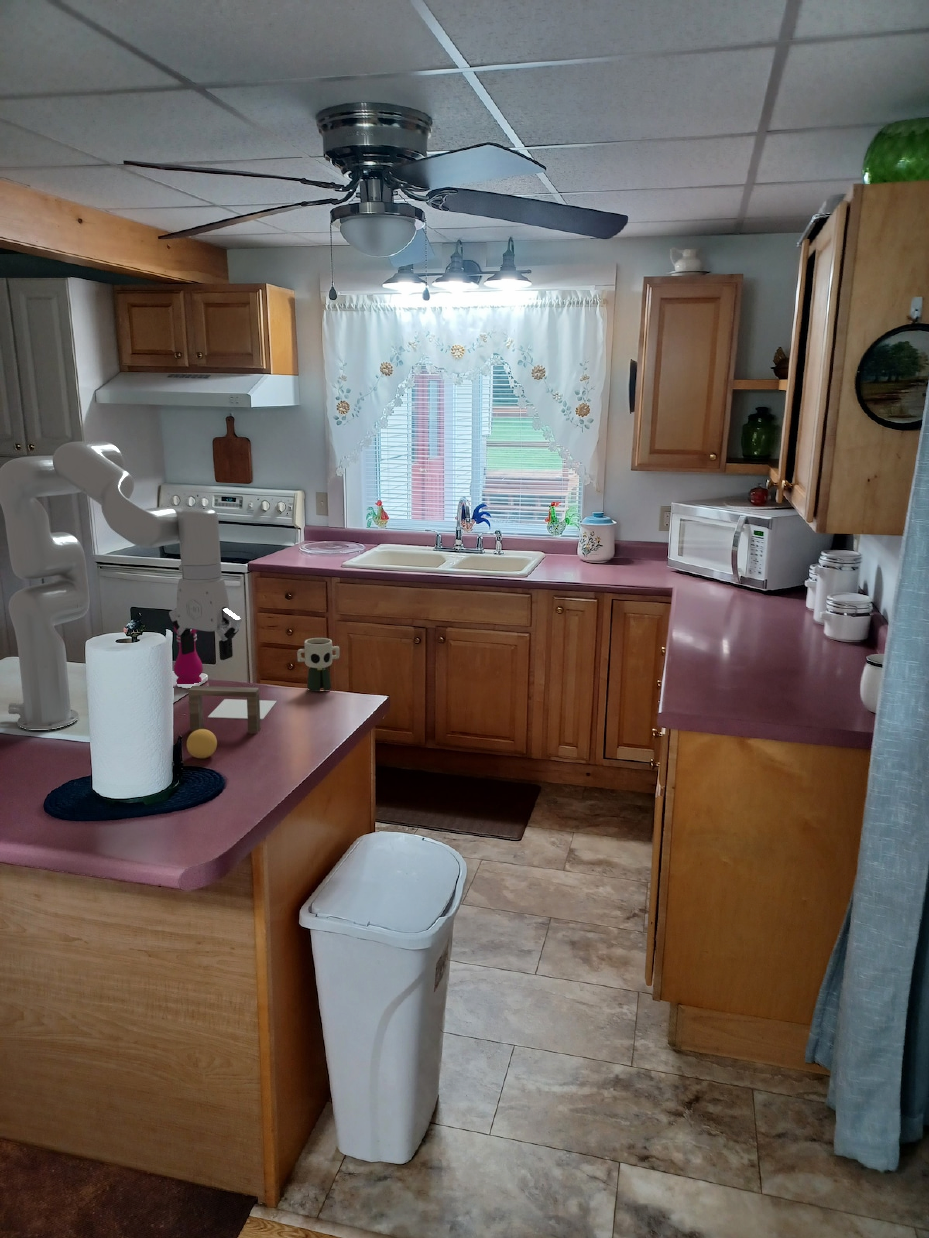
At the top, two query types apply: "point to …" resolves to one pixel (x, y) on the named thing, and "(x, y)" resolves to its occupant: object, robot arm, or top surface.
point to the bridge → (250, 693)
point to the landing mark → (239, 709)
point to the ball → (201, 743)
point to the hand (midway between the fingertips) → (207, 655)
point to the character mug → (318, 662)
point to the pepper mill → (188, 665)
